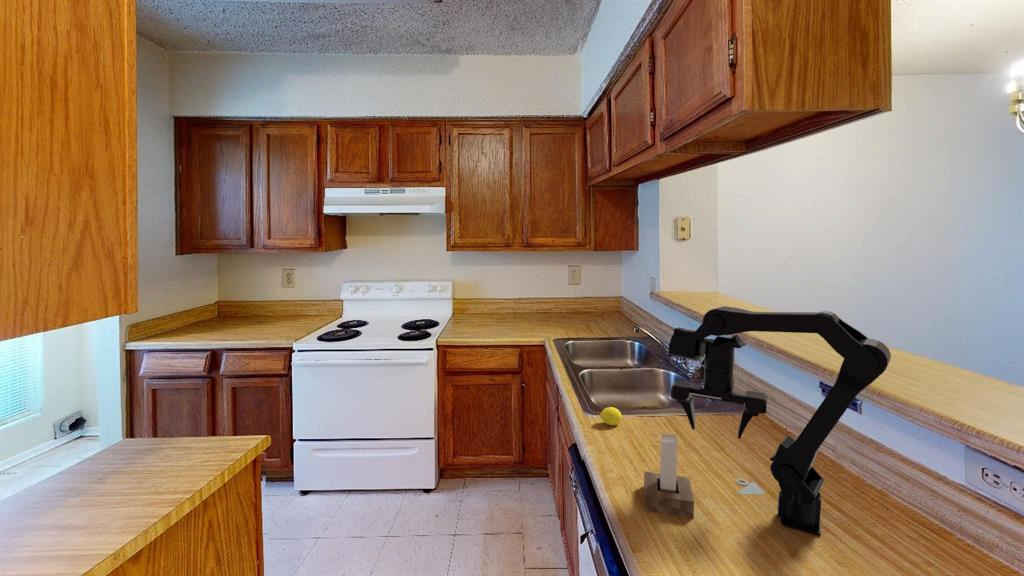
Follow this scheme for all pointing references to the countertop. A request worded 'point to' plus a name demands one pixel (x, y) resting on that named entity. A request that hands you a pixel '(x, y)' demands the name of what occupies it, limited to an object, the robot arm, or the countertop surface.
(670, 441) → the rail post
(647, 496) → the post base
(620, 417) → the lemon
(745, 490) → the grey triangular pendant
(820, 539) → the countertop surface
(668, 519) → the countertop surface
